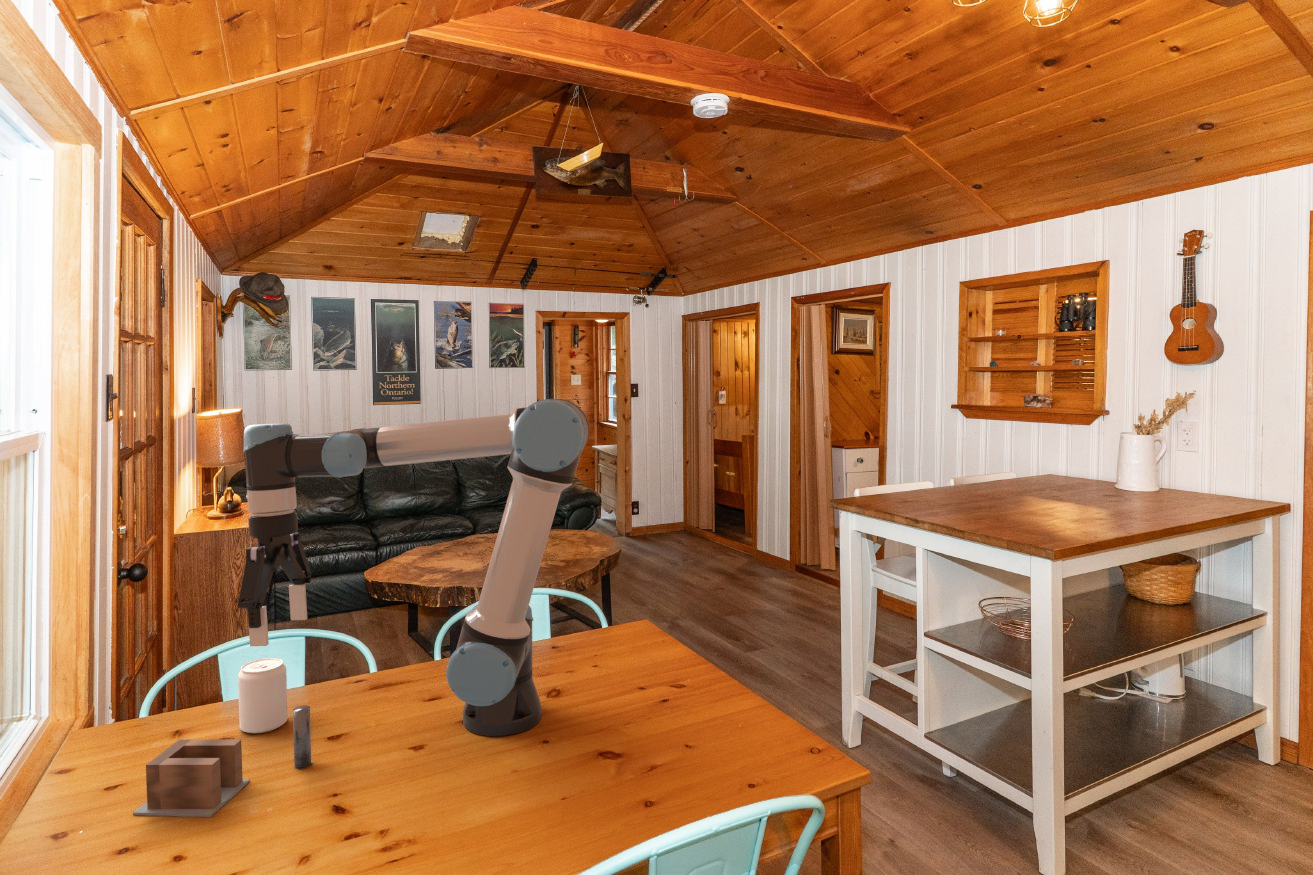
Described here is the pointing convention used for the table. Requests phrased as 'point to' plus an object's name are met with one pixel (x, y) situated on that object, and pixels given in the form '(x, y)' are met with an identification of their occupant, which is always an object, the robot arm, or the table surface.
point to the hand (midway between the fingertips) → (280, 631)
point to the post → (302, 737)
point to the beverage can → (262, 695)
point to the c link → (193, 774)
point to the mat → (225, 797)
